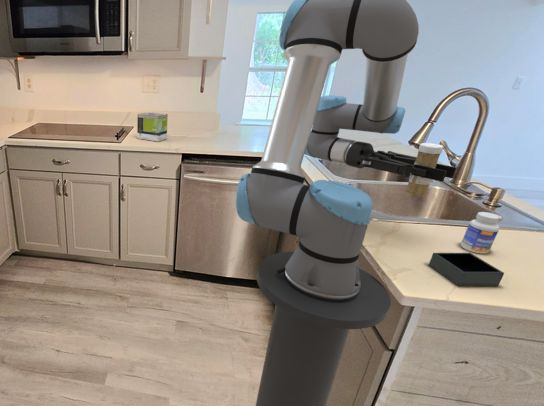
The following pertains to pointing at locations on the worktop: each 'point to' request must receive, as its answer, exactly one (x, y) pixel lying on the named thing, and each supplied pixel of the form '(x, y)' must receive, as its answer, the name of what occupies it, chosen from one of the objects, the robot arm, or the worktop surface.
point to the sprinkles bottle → (425, 157)
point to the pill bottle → (481, 233)
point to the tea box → (152, 126)
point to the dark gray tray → (466, 269)
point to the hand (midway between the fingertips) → (449, 174)
